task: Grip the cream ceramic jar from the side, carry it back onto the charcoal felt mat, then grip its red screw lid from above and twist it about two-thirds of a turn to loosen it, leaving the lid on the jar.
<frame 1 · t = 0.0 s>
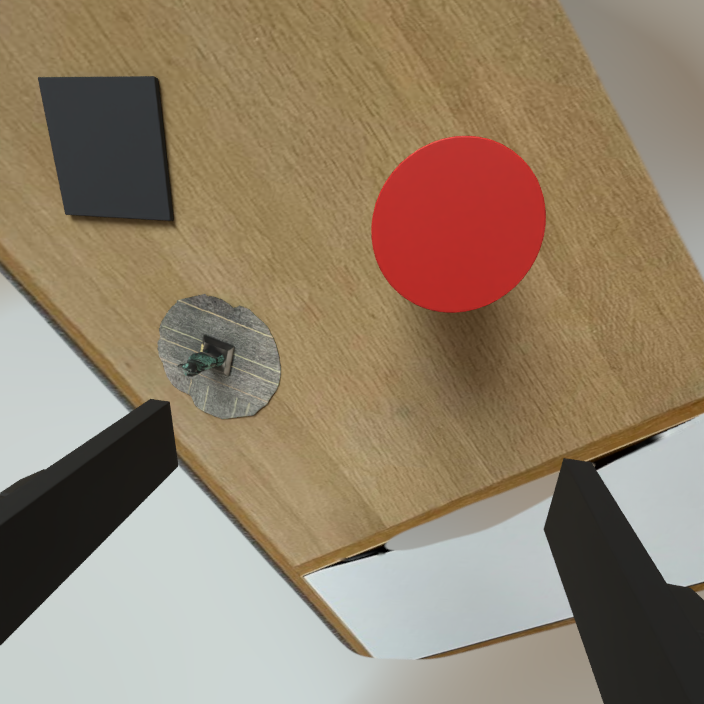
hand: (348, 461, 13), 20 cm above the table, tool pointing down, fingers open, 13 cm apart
lid: (454, 230, 18), point 12 cm above the table, screwed on, not yet turned
sculpture: (219, 358, 36), on the table
mat: (110, 152, 31), on the table
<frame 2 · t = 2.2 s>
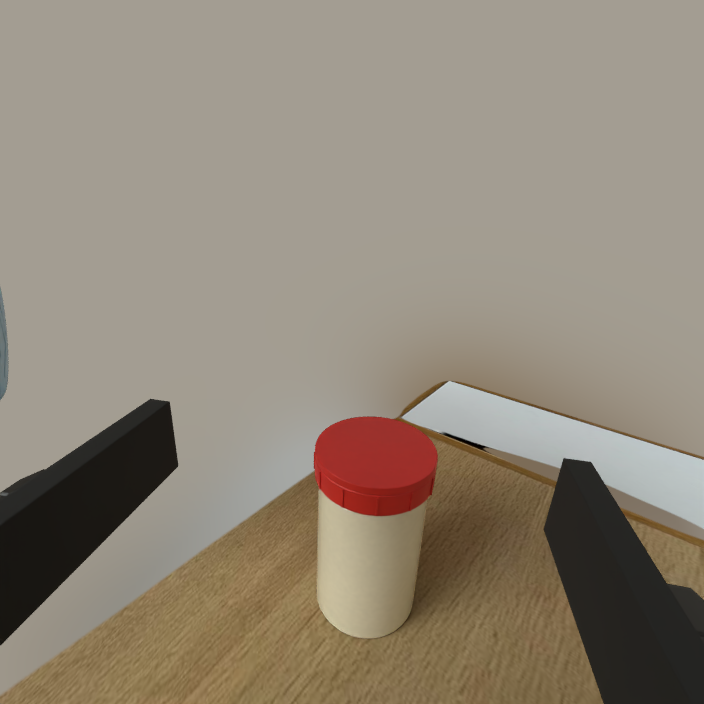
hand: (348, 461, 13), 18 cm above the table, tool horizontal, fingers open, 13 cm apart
lid: (375, 453, 24), point 12 cm above the table, screwed on, not yet turned
jar: (364, 588, 28), on the table
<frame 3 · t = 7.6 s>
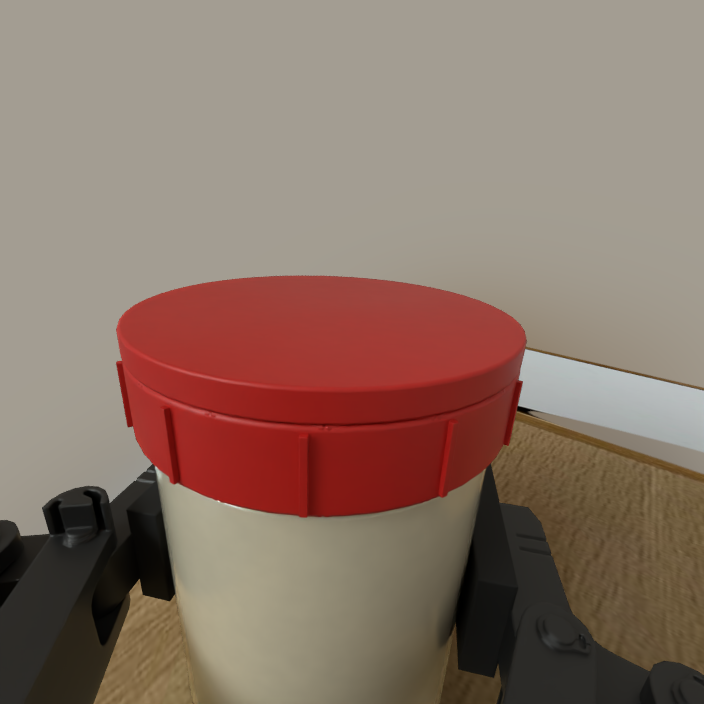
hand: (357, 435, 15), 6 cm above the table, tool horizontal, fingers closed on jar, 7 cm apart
lid: (328, 330, 8), point 12 cm above the table, screwed on, not yet turned
jar: (319, 686, 12), on the table, touching gripper
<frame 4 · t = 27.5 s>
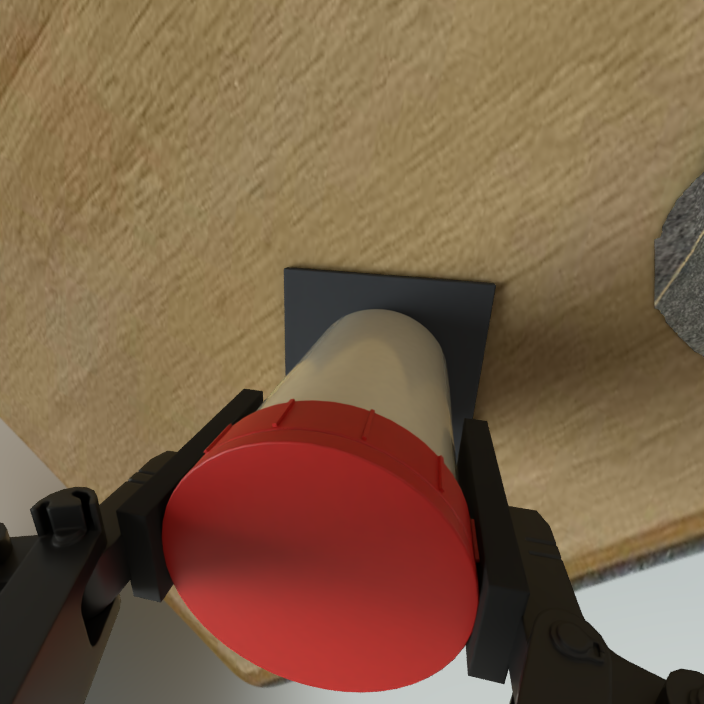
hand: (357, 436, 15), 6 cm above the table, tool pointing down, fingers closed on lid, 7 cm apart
lid: (315, 564, 9), point 12 cm above the table, screwed on, not yet turned, touching gripper
mat: (379, 370, 21), on the table
jar: (377, 375, 20), resting on mat
when the fingers open (6 cm above the table, at t = 32.1 s): lid stays where it is, point 12 cm above the table.
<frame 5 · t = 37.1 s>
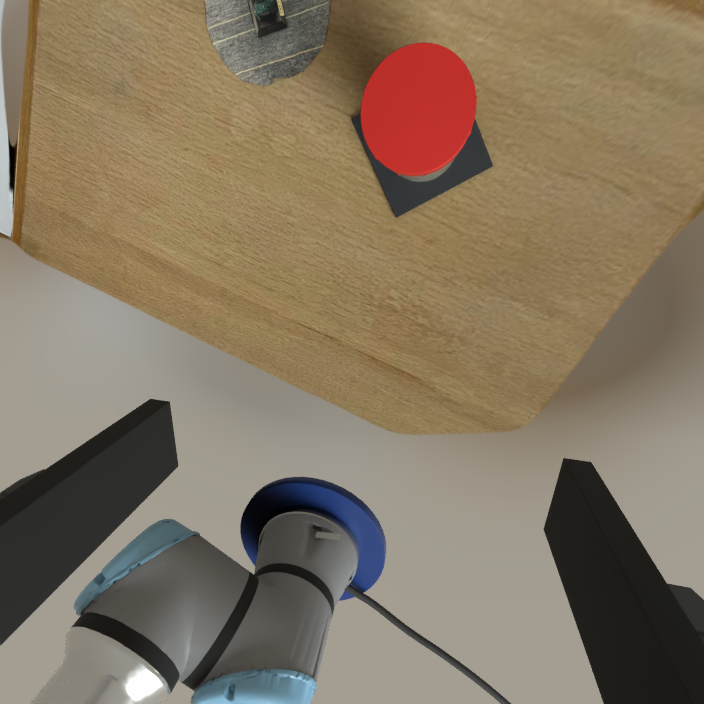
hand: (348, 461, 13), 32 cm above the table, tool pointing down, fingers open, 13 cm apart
lid: (417, 113, 26), point 12 cm above the table, turned 240° so far, risen 0.3 cm, still on its thread
sculpture: (266, 10, 36), on the table
mat: (421, 143, 37), on the table
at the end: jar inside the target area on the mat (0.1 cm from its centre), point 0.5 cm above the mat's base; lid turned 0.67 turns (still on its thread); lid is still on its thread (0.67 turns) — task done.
